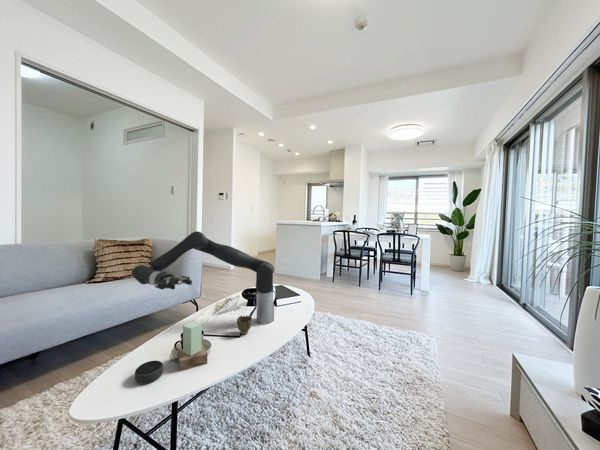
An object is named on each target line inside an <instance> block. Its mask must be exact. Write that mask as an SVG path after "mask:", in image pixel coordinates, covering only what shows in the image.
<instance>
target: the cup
mask: <svg viewBox="0 0 600 450" xmlns="http://www.w3.org/2000/svg"><path fill="white" fill-rule="evenodd" d="M252 320H253V317H252V316H251V315H250V316H249V315H240V316H238V317H237V318H236V324H237V329H238V331H239V332H241V333H240V334H241V335H242V336H244V335H245V336H246V334H248V332H249V330H250V329H251V326H252Z"/></svg>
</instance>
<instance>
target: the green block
mask: <svg viewBox="0 0 600 450" xmlns="http://www.w3.org/2000/svg"><path fill="white" fill-rule="evenodd" d="M202 326H203V324H202V323H200V322H198V321H195V320H193V321H191V322H189V323H186V324H184V325H182V347H183V352H184V353H186V354H188V355H190V356H192V355H193V354H195V353H197V352H199V351H201V350H202V343H203V341H202V339H203V337H202V336H203V334H202V333H203V332H202V331H203V330H202V329H203V327H202Z"/></svg>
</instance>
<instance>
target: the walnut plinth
mask: <svg viewBox="0 0 600 450" xmlns="http://www.w3.org/2000/svg"><path fill="white" fill-rule="evenodd" d="M177 362H178V366H179V367H178V368H179V371H180V372H182V371H185V370H189V369H192V368H197V367H200V366H203V365H206V364H207V365H208V351H207V349H206V347H205V344H204V342H202V350H201V351H199V352H197V353H195V354H193V355H192V356H190V355H188V354H186V353H184V352H183V349H182V347H178V348H177Z"/></svg>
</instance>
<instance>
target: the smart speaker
mask: <svg viewBox="0 0 600 450" xmlns="http://www.w3.org/2000/svg"><path fill="white" fill-rule="evenodd" d="M134 371H135V372H134V381H135V382H136V383H137V384H140V385H147V384H150V383H154V382H155V381H157V380H158V379H160V377H162V375H163V374H164V363H163V362H162V361H160V360H150V361H146V362H144V363H142V364H140V365H139V366H138V367H137V368H136V369H135V370H134Z"/></svg>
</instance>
